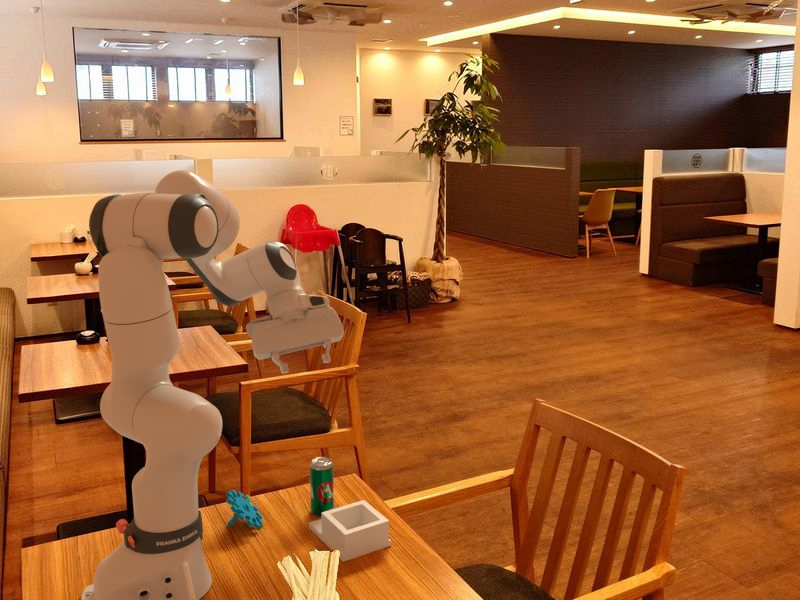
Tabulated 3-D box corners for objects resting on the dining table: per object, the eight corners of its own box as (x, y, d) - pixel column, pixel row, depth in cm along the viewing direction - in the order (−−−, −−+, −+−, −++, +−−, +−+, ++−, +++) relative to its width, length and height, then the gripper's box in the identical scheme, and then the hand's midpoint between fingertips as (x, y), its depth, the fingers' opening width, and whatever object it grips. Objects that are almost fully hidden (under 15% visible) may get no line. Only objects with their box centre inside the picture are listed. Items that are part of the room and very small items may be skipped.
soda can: (313, 505, 171) (312, 455, 168) (336, 506, 170) (335, 456, 167) (308, 516, 166) (307, 465, 163) (331, 518, 165) (330, 467, 163)
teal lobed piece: (262, 530, 157) (226, 497, 156) (242, 550, 157) (206, 518, 156) (269, 510, 168) (235, 479, 167) (250, 529, 168) (216, 498, 167)
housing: (343, 561, 149) (342, 535, 148) (308, 527, 162) (308, 502, 160) (391, 545, 155) (391, 520, 154) (354, 513, 167) (354, 489, 166)
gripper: (243, 315, 166) (259, 373, 161) (334, 295, 172) (352, 350, 167) (243, 326, 172) (259, 383, 167) (331, 307, 178) (348, 361, 173)
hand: (306, 367), depth 167 cm, fingers open, 8 cm apart
